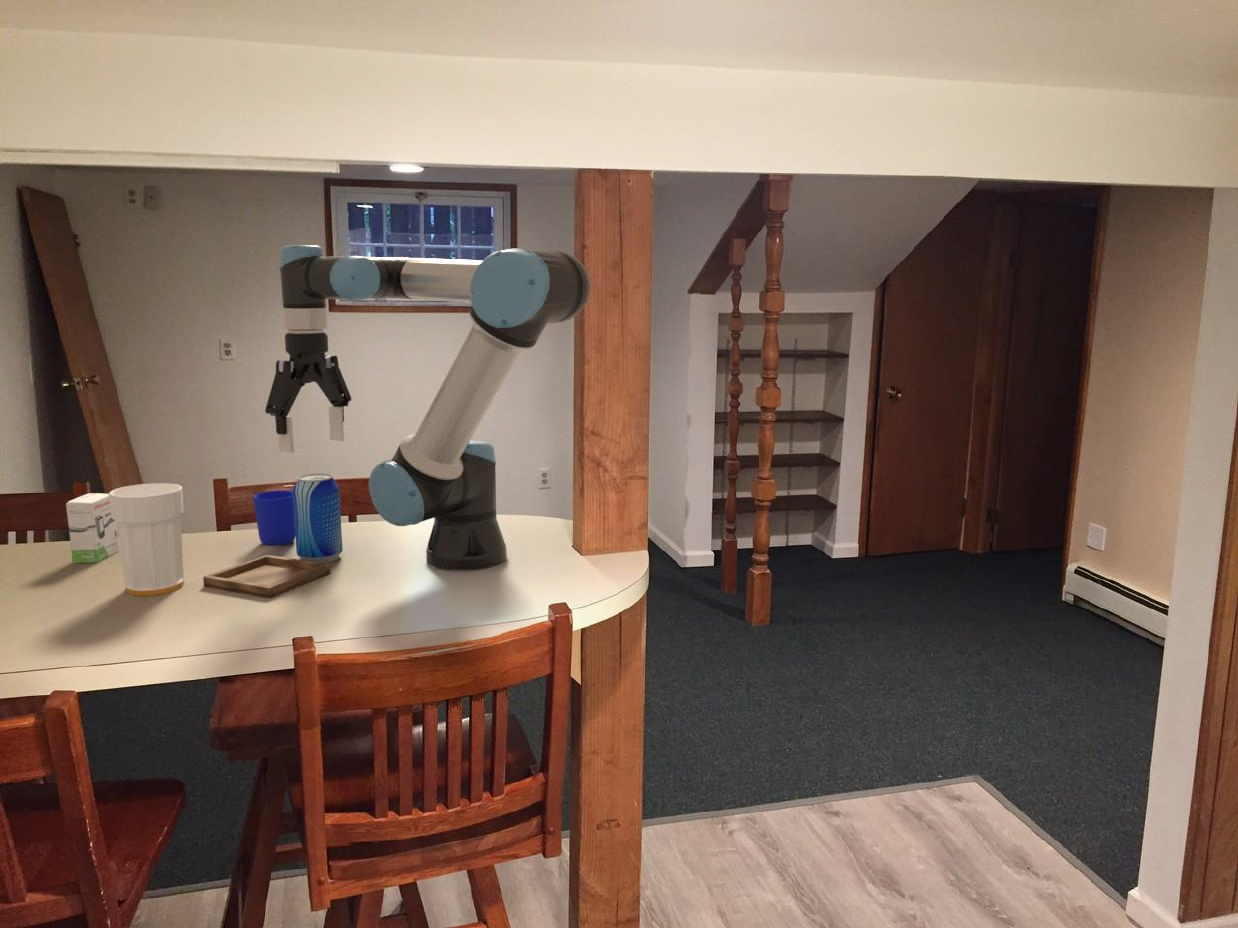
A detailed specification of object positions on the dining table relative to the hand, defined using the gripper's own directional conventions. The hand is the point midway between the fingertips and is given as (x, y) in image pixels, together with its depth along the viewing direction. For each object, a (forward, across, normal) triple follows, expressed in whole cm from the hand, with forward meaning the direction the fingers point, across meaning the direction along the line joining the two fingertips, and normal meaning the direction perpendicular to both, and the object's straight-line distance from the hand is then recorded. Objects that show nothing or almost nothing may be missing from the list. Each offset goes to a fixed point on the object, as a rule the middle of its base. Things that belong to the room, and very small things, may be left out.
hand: (312, 445), depth 183 cm
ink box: (+22, +17, -40) cm, 49 cm away
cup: (+22, +26, -14) cm, 37 cm away
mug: (+22, -7, -16) cm, 28 cm away
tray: (+22, +14, +1) cm, 26 cm away
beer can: (+22, 0, 0) cm, 22 cm away
